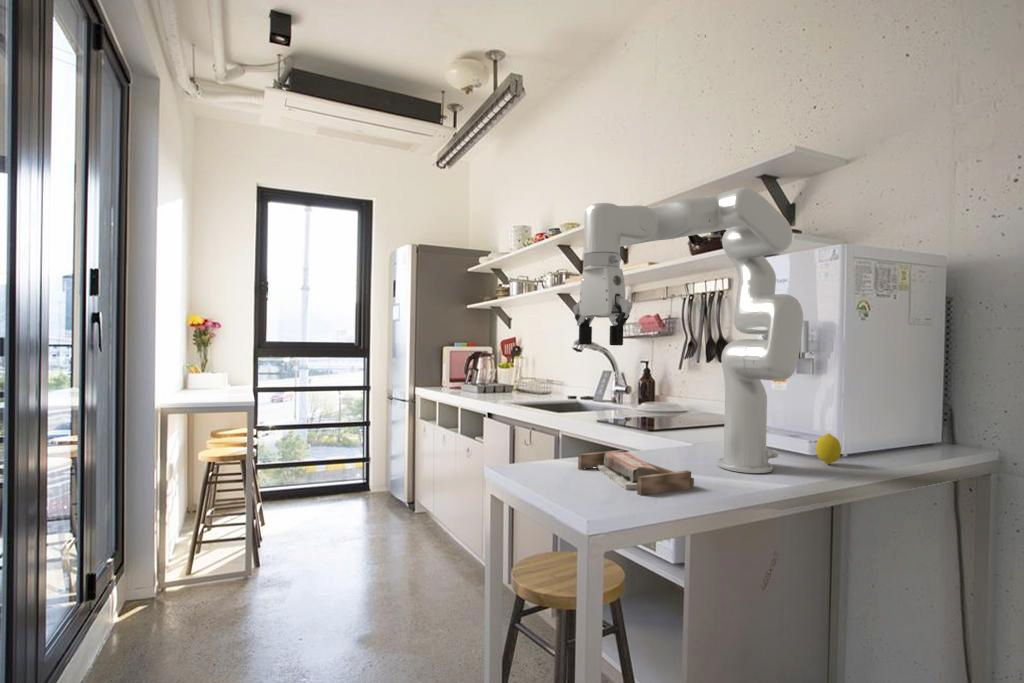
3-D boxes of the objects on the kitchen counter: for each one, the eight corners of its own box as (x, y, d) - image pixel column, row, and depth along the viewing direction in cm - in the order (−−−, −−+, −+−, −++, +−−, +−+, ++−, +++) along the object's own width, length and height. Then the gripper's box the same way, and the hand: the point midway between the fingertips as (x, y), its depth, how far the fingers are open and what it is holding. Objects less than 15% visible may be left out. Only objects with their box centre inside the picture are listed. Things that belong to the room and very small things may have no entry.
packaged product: (595, 450, 128) (634, 449, 130) (595, 470, 128) (634, 469, 130) (625, 469, 110) (670, 467, 112) (625, 492, 110) (670, 490, 112)
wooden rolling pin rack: (625, 463, 134) (625, 449, 134) (693, 487, 113) (694, 471, 113) (578, 468, 128) (578, 454, 128) (641, 495, 107) (641, 477, 107)
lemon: (840, 468, 132) (841, 436, 132) (815, 465, 135) (815, 434, 135) (840, 464, 137) (841, 433, 137) (815, 461, 140) (816, 431, 140)
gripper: (644, 260, 107) (643, 345, 107) (588, 269, 122) (587, 344, 122) (617, 257, 103) (615, 345, 103) (562, 266, 118) (561, 343, 118)
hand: (600, 344), depth 113 cm, fingers open, 9 cm apart
